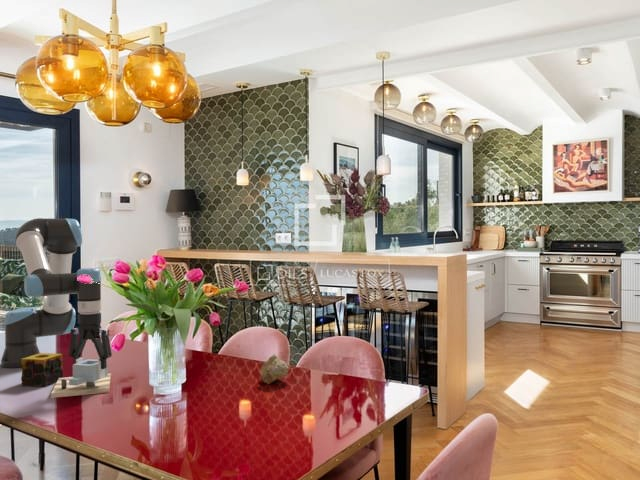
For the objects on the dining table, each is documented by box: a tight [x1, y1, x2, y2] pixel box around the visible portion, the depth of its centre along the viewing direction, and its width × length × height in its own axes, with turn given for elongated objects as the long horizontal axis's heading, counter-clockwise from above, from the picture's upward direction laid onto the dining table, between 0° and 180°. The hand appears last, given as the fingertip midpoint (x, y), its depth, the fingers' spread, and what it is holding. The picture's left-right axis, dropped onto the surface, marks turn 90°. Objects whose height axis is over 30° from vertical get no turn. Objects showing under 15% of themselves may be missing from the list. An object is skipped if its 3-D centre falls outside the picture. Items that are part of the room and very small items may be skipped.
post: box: [86, 381, 95, 388], centre depth 188 cm, size 3×3×6 cm
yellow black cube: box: [20, 352, 64, 388], centre depth 199 cm, size 10×10×10 cm
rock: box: [259, 353, 291, 385], centre depth 197 cm, size 12×10×10 cm
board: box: [50, 373, 112, 399], centre depth 193 cm, size 20×18×2 cm
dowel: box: [61, 379, 67, 389], centre depth 185 cm, size 2×2×3 cm
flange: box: [69, 358, 109, 386], centre depth 185 cm, size 13×8×6 cm, turn 167°
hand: (90, 377), depth 188 cm, fingers closed on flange, 8 cm apart
